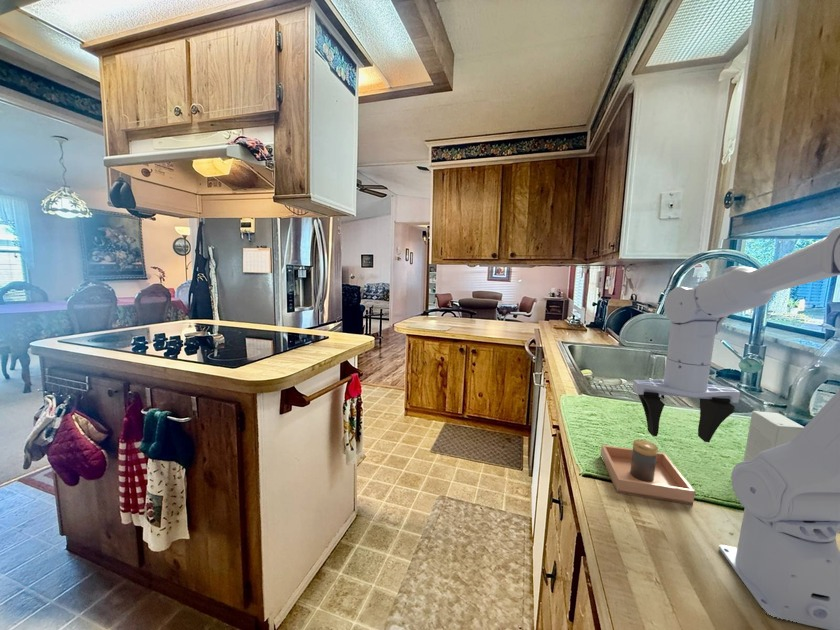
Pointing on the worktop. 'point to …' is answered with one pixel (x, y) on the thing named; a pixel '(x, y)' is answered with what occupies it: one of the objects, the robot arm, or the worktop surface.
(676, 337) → the robot arm
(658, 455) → the dish
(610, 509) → the worktop surface
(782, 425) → the skincare box
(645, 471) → the cell
